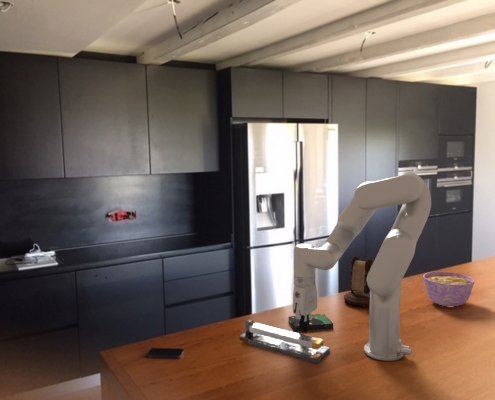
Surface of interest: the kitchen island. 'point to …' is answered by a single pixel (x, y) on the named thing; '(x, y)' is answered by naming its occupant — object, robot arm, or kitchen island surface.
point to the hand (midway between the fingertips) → (304, 331)
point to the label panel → (287, 347)
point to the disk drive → (313, 323)
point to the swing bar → (282, 335)
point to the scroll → (359, 283)
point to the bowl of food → (448, 287)
